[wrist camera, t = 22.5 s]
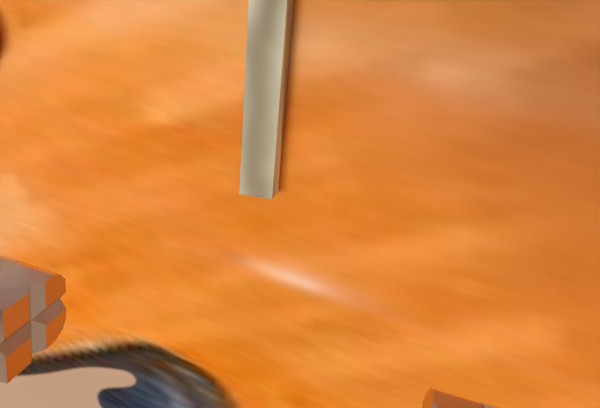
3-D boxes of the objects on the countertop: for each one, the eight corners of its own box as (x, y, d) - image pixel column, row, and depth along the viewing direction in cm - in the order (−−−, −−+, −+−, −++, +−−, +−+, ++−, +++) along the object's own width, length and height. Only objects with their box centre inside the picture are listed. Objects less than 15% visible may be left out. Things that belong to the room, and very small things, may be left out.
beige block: (294, -1, 45) (287, -2, 42) (279, 189, 52) (271, 199, 49) (259, -4, 45) (249, -6, 43) (248, 184, 52) (239, 193, 50)
